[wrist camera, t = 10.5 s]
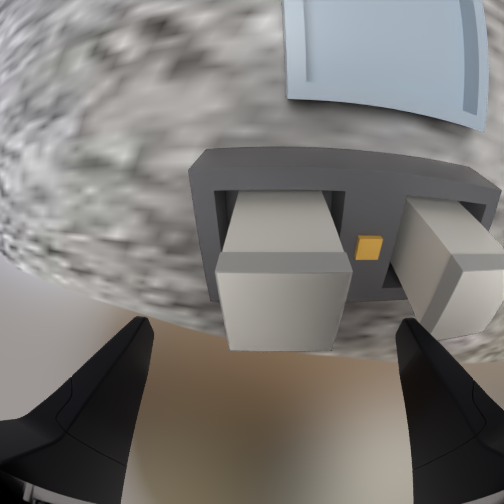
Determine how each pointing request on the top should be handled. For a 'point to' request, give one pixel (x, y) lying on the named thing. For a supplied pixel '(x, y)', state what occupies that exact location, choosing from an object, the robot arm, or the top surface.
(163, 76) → the top surface
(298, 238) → the plug
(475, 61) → the tray
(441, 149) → the top surface
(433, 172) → the grey boxy piece
